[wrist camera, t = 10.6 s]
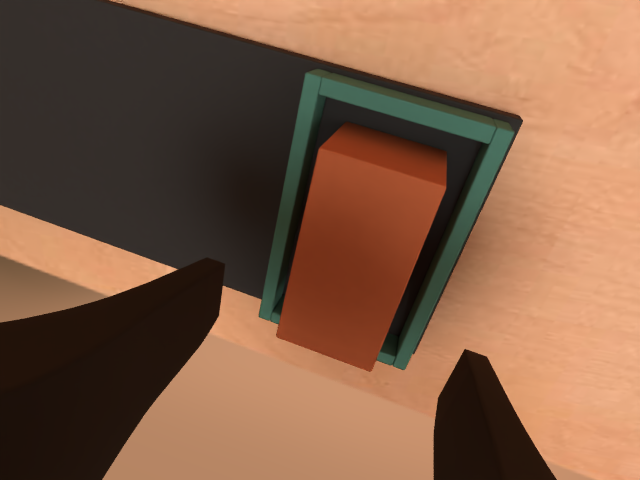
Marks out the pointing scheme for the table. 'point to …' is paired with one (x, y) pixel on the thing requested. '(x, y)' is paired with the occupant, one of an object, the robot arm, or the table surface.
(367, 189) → the pad piece
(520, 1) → the table surface
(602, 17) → the table surface
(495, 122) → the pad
